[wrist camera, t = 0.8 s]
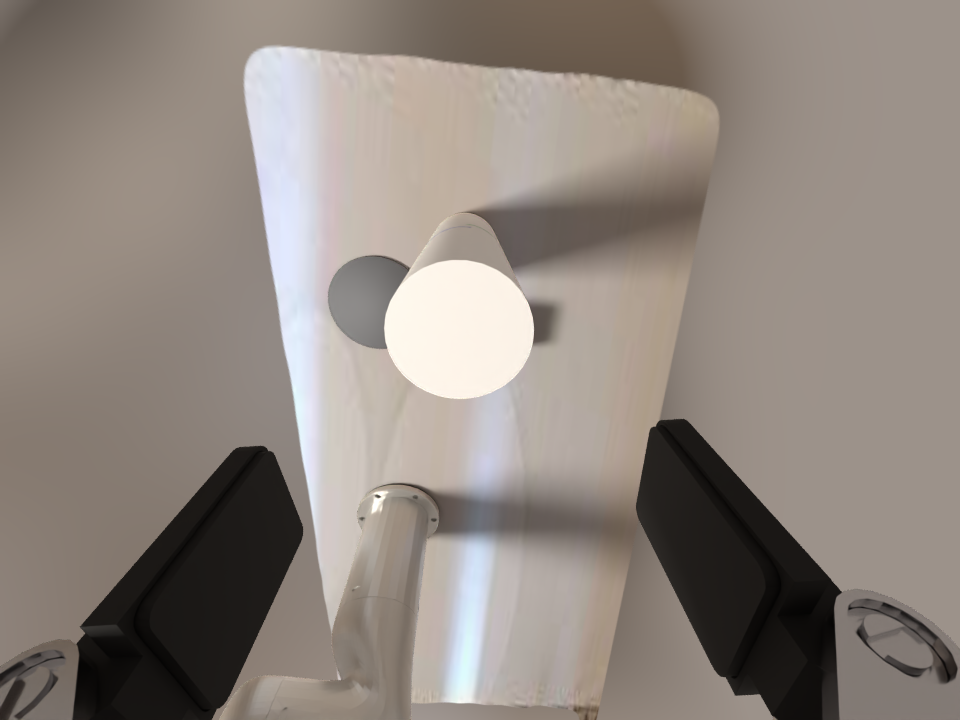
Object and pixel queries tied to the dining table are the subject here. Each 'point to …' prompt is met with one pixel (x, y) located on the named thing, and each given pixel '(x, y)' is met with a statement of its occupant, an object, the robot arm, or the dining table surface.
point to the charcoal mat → (364, 297)
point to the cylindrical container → (460, 314)
